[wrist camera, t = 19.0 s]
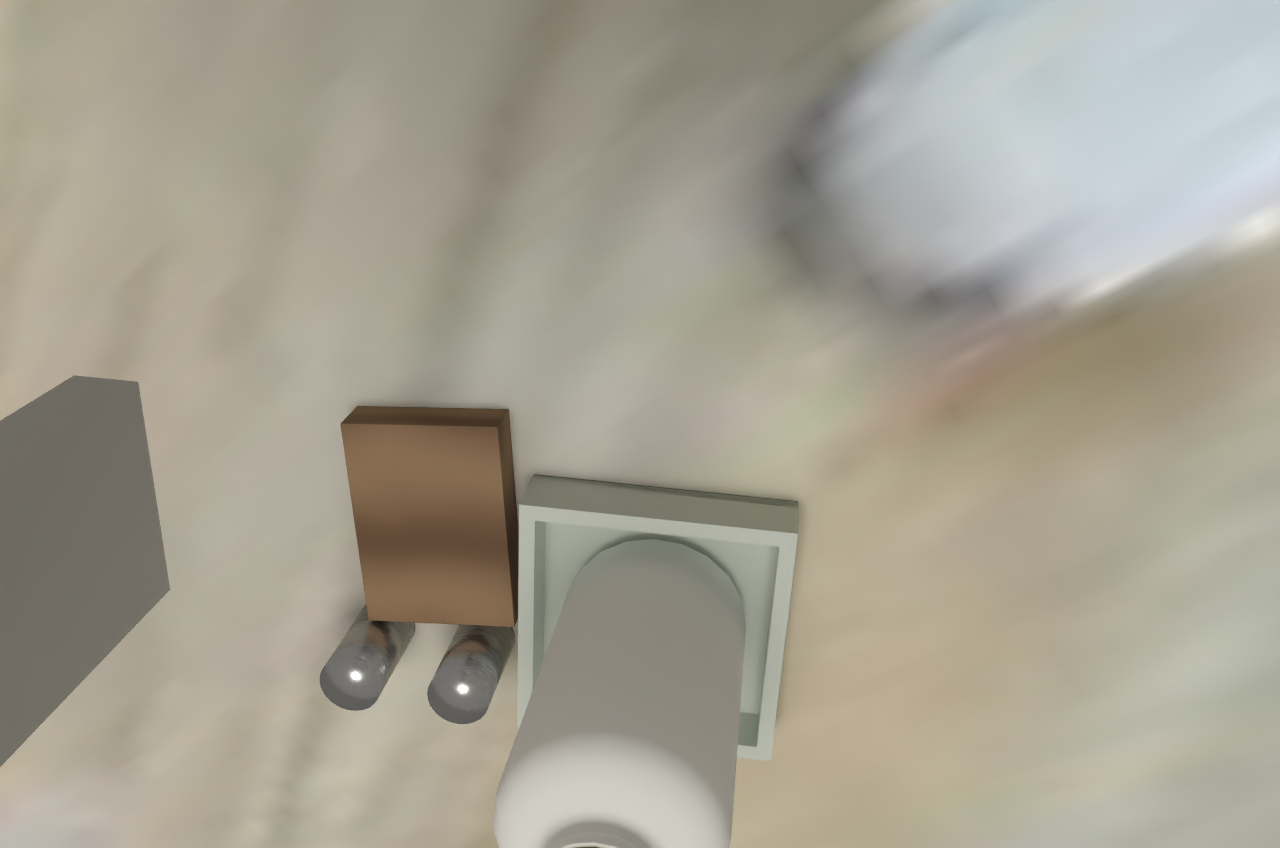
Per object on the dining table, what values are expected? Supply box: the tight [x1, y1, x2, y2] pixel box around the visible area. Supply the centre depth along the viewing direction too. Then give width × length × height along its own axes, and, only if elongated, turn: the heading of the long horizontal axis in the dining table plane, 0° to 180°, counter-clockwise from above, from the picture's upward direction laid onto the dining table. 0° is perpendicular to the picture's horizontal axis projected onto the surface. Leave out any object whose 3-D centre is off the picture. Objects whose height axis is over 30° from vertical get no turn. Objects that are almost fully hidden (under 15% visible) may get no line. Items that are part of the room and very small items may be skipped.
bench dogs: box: [320, 605, 515, 724], centre depth 52 cm, size 3×8×5 cm, turn 87°
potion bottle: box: [493, 539, 746, 848], centre depth 43 cm, size 8×8×18 cm
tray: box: [517, 475, 798, 761], centre depth 50 cm, size 12×12×3 cm
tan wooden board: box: [341, 406, 519, 627], centre depth 50 cm, size 10×7×2 cm
